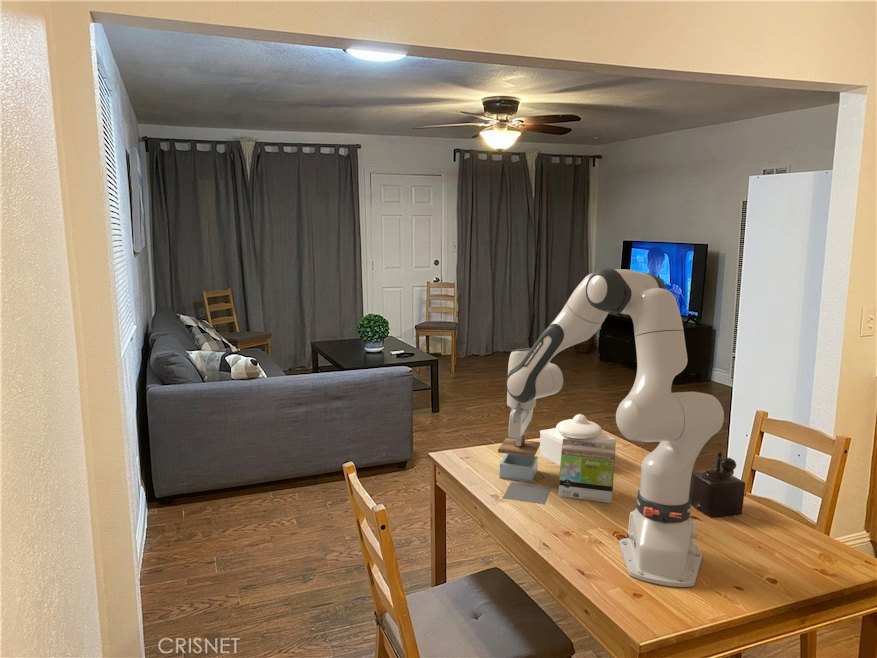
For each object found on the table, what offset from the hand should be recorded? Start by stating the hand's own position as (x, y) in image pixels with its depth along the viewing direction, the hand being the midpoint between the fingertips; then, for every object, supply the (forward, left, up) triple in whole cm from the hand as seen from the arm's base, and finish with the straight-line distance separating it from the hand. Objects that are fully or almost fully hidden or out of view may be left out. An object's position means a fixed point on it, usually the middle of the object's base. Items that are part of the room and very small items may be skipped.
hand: (519, 442), depth 195 cm
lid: (0, 0, -2) cm, 2 cm away
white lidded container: (+20, -16, -11) cm, 28 cm away
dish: (0, 0, -11) cm, 11 cm away
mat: (-13, -5, -11) cm, 18 cm away
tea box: (-7, -21, -11) cm, 25 cm away
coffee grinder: (-7, -57, -11) cm, 58 cm away
